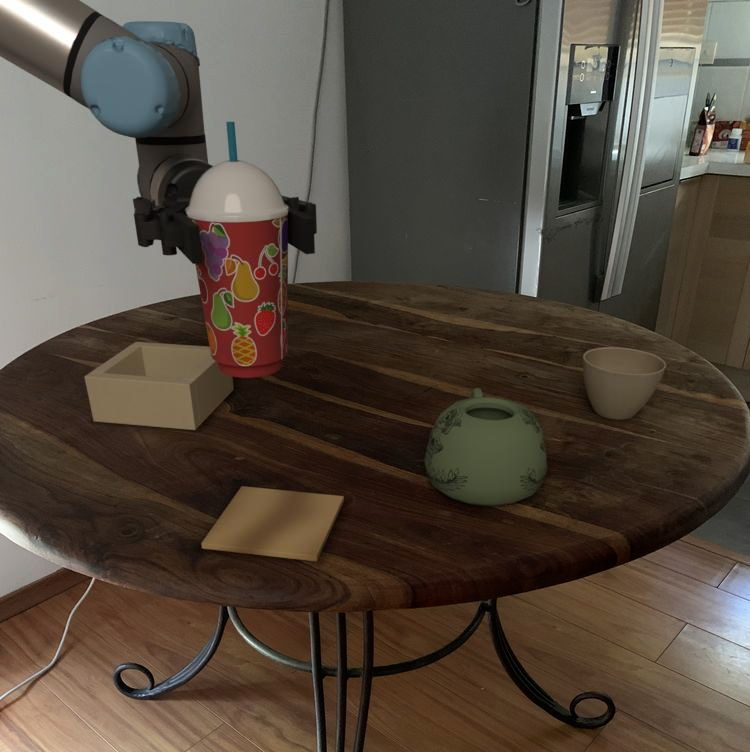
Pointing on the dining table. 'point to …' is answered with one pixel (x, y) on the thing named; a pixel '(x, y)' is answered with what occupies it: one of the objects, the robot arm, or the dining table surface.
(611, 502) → the dining table surface
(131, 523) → the dining table surface
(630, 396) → the flower pot
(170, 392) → the square beige tray
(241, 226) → the smoothie
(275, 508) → the cork mat
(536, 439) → the green rounded ceramic pot
